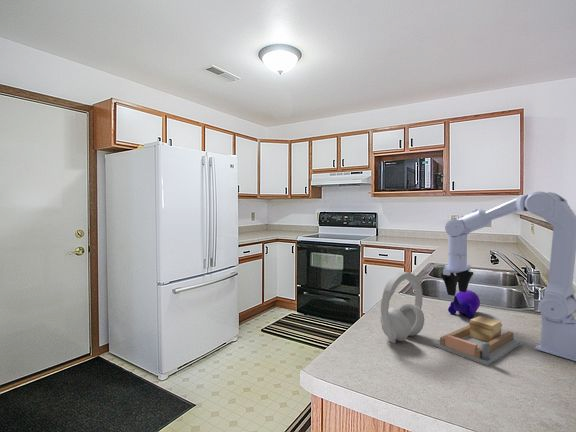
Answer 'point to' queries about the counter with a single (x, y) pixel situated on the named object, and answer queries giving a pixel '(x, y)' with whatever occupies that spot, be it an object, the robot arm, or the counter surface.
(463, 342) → the bay
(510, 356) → the counter surface
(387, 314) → the headphones
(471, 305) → the toy
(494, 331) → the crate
